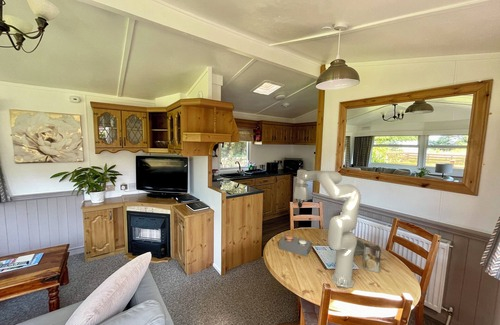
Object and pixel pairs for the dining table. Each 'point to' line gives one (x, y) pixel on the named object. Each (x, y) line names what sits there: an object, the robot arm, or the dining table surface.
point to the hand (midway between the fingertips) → (299, 207)
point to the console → (295, 246)
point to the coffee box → (371, 257)
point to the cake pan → (359, 248)
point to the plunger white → (302, 242)
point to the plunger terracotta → (289, 238)
